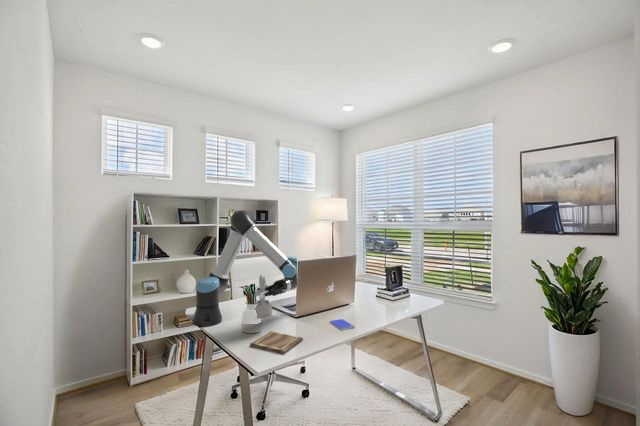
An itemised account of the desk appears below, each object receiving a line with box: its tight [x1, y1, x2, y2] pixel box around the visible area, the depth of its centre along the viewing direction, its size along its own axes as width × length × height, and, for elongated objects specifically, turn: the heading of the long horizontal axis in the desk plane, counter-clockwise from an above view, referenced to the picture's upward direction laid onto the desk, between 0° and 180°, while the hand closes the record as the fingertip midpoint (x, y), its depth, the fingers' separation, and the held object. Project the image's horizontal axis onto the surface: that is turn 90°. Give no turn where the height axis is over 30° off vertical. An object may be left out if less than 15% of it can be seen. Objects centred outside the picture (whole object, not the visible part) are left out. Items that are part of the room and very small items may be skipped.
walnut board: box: [249, 331, 304, 355], centre depth 140 cm, size 18×16×1 cm
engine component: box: [255, 274, 273, 320], centre depth 157 cm, size 11×20×10 cm
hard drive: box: [329, 318, 356, 331], centre depth 164 cm, size 2×8×12 cm
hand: (256, 295), depth 154 cm, fingers closed on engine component, 4 cm apart
